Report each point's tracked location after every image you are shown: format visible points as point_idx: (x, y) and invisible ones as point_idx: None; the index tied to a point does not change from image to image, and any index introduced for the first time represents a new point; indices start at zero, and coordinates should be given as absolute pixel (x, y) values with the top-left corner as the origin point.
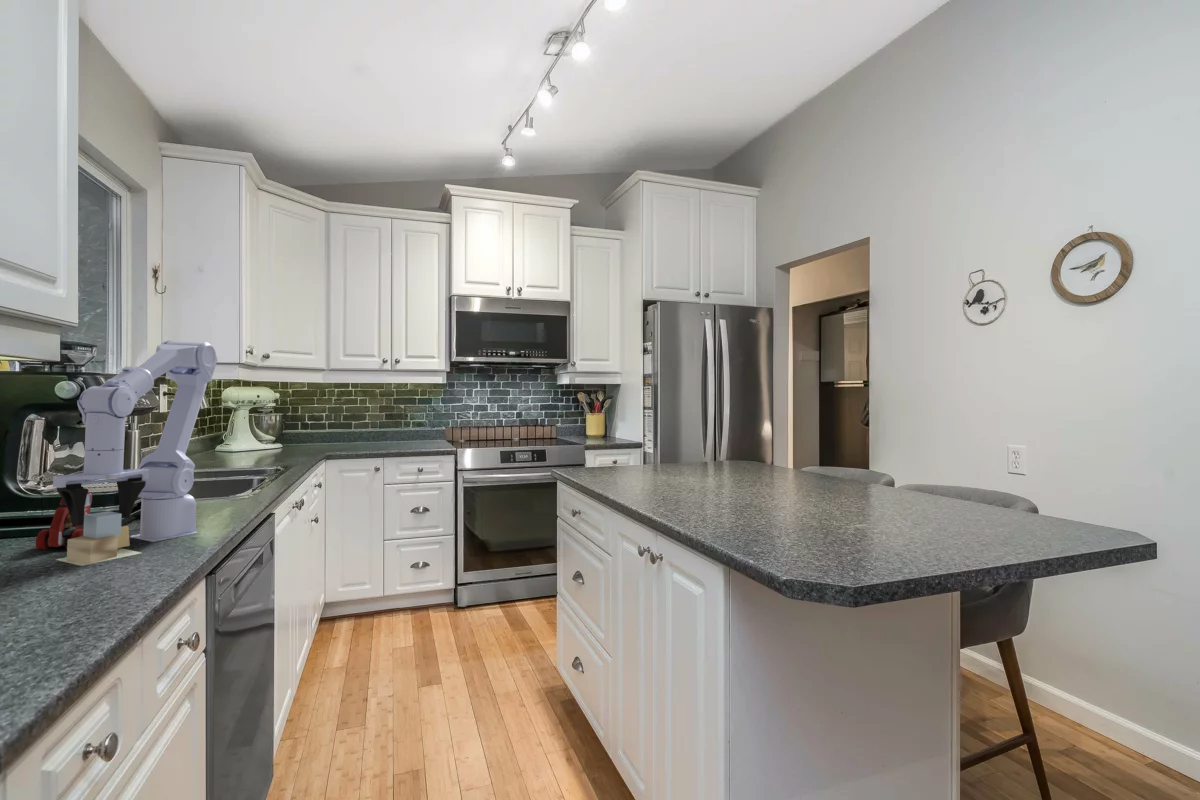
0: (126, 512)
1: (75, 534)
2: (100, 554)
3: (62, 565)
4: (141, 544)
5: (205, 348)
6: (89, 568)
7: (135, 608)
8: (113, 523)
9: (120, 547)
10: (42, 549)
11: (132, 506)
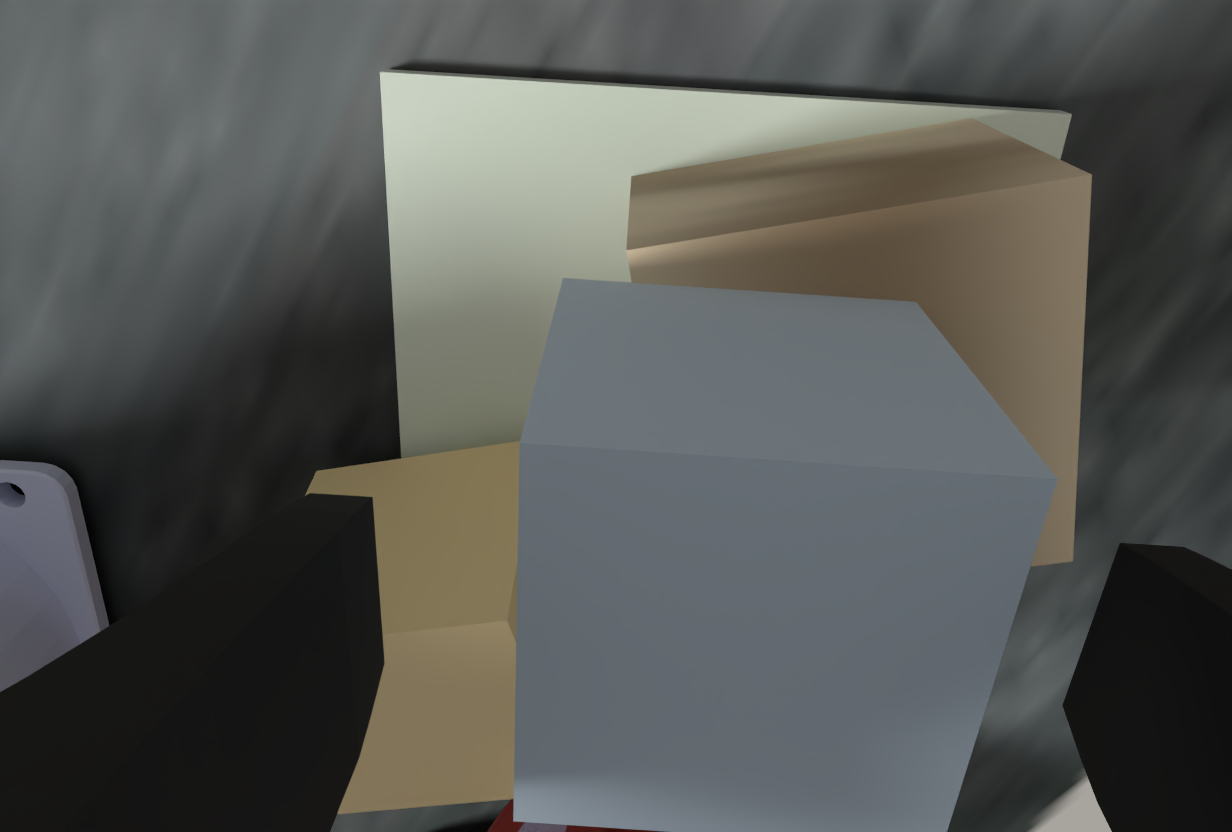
0: (335, 554)
1: None
2: (862, 152)
3: None
4: (167, 522)
5: None
6: (1046, 5)
7: None
8: (688, 362)
9: (421, 458)
10: None
11: (164, 602)
